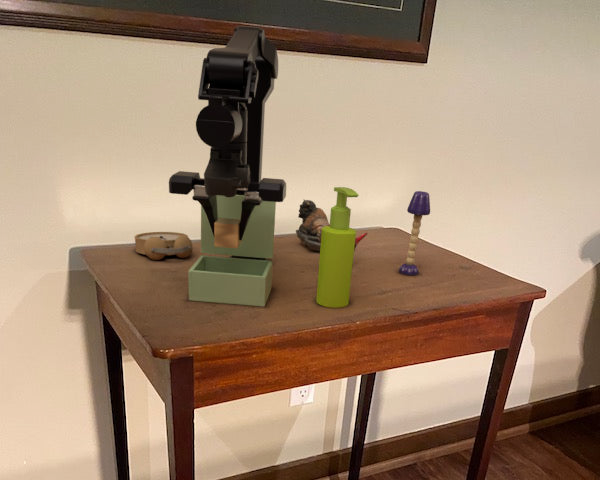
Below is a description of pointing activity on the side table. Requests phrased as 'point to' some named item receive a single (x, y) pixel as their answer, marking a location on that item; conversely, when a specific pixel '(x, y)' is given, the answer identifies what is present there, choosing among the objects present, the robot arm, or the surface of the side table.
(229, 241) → the block
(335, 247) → the soap dispenser
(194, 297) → the chest
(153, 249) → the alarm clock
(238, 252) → the lid
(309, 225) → the bison figurine
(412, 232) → the toy lamp
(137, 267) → the side table surface
